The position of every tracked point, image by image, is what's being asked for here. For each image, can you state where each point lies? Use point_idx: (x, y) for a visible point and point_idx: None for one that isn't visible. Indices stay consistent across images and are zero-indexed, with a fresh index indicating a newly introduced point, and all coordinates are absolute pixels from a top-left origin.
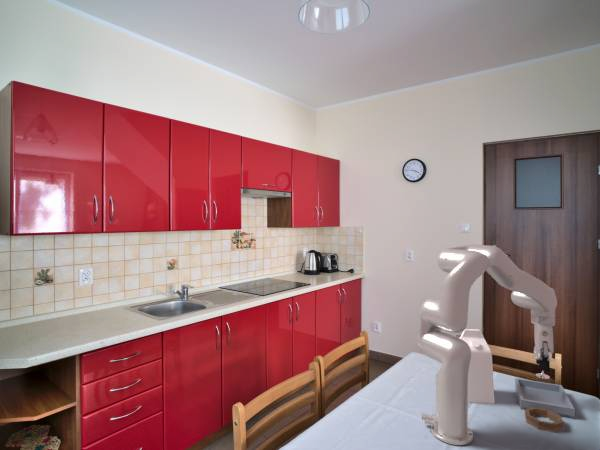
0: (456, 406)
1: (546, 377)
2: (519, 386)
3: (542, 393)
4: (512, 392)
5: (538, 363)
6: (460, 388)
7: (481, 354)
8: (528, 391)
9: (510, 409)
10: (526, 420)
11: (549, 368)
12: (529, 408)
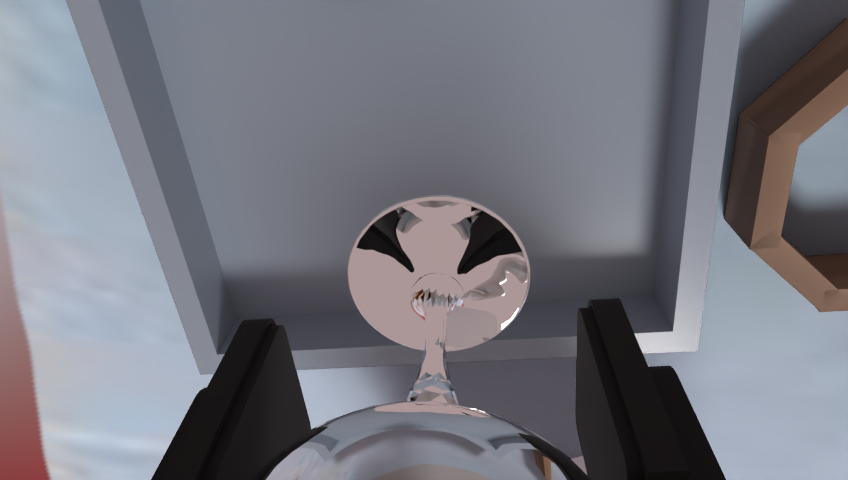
0: None
1: (497, 244)
2: (392, 350)
3: (289, 142)
4: None
5: (307, 424)
6: None
7: None
8: (321, 250)
9: (701, 357)
10: None
11: (631, 329)
12: (796, 280)
